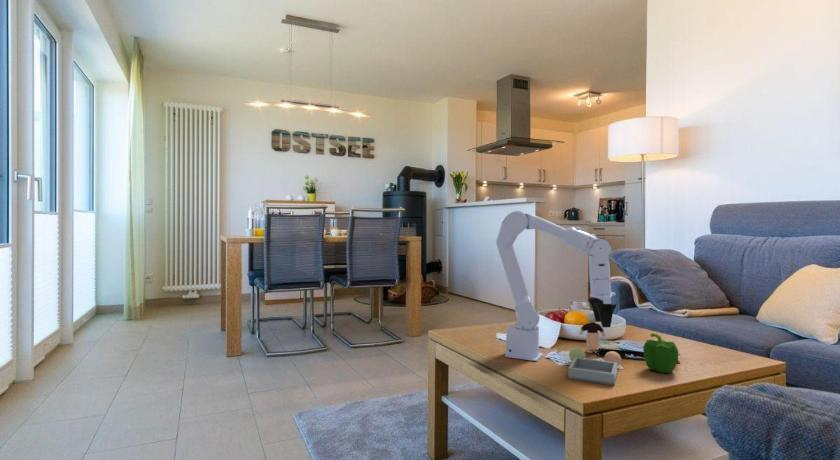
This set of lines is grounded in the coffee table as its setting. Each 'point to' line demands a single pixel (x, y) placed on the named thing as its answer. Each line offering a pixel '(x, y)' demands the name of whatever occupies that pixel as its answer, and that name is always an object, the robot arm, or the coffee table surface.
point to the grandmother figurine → (592, 333)
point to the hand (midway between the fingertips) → (602, 324)
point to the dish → (593, 371)
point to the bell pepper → (660, 354)
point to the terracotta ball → (613, 357)
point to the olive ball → (576, 353)
